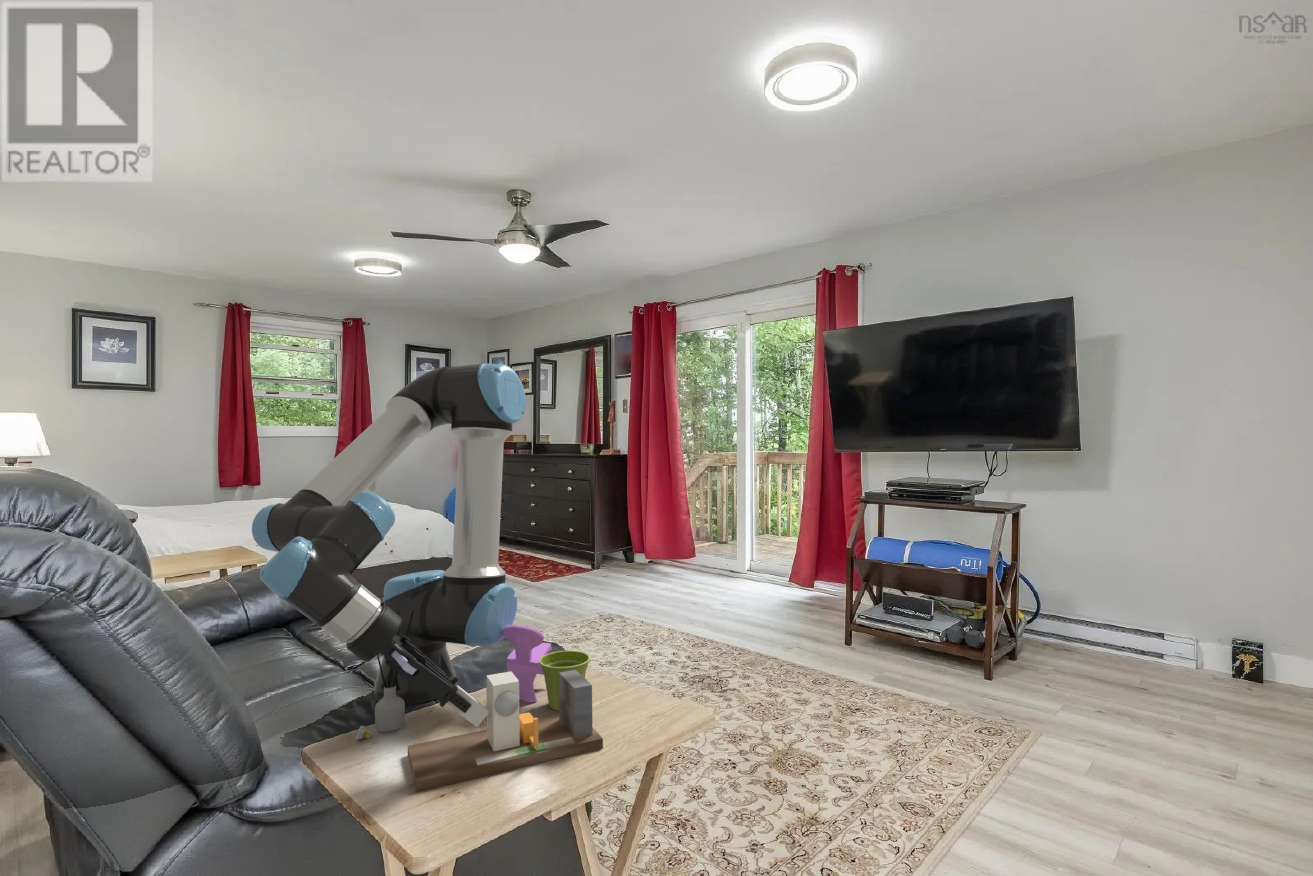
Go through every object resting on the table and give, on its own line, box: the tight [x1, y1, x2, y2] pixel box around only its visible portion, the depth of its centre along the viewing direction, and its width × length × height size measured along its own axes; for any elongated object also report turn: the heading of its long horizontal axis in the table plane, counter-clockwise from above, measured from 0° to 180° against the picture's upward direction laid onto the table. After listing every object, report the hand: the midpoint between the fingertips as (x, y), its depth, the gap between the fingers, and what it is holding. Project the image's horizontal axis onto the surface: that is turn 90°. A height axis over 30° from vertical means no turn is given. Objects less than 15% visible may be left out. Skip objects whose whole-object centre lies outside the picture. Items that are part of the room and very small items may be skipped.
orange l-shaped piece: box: [519, 712, 539, 749], centre depth 101 cm, size 8×2×5 cm, turn 26°
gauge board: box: [407, 670, 604, 793], centre depth 101 cm, size 12×28×10 cm, turn 116°
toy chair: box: [502, 624, 553, 703], centre depth 123 cm, size 8×9×15 cm
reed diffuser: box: [355, 611, 414, 740], centre depth 108 cm, size 10×7×20 cm
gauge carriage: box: [486, 671, 520, 751], centre depth 100 cm, size 6×4×10 cm
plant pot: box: [539, 650, 591, 712], centre depth 119 cm, size 9×9×9 cm
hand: (481, 717), depth 99 cm, fingers closed
